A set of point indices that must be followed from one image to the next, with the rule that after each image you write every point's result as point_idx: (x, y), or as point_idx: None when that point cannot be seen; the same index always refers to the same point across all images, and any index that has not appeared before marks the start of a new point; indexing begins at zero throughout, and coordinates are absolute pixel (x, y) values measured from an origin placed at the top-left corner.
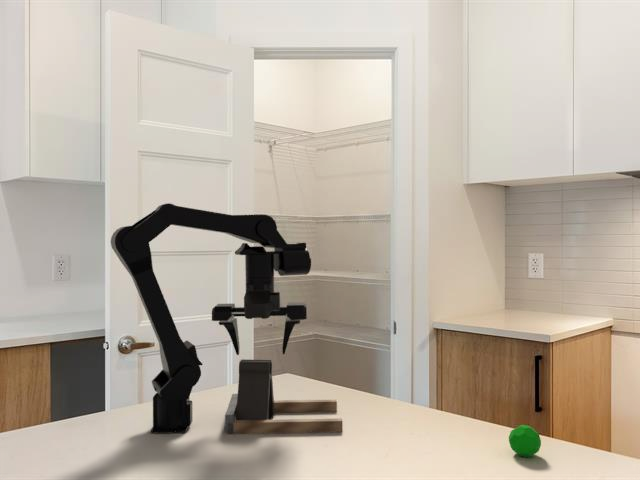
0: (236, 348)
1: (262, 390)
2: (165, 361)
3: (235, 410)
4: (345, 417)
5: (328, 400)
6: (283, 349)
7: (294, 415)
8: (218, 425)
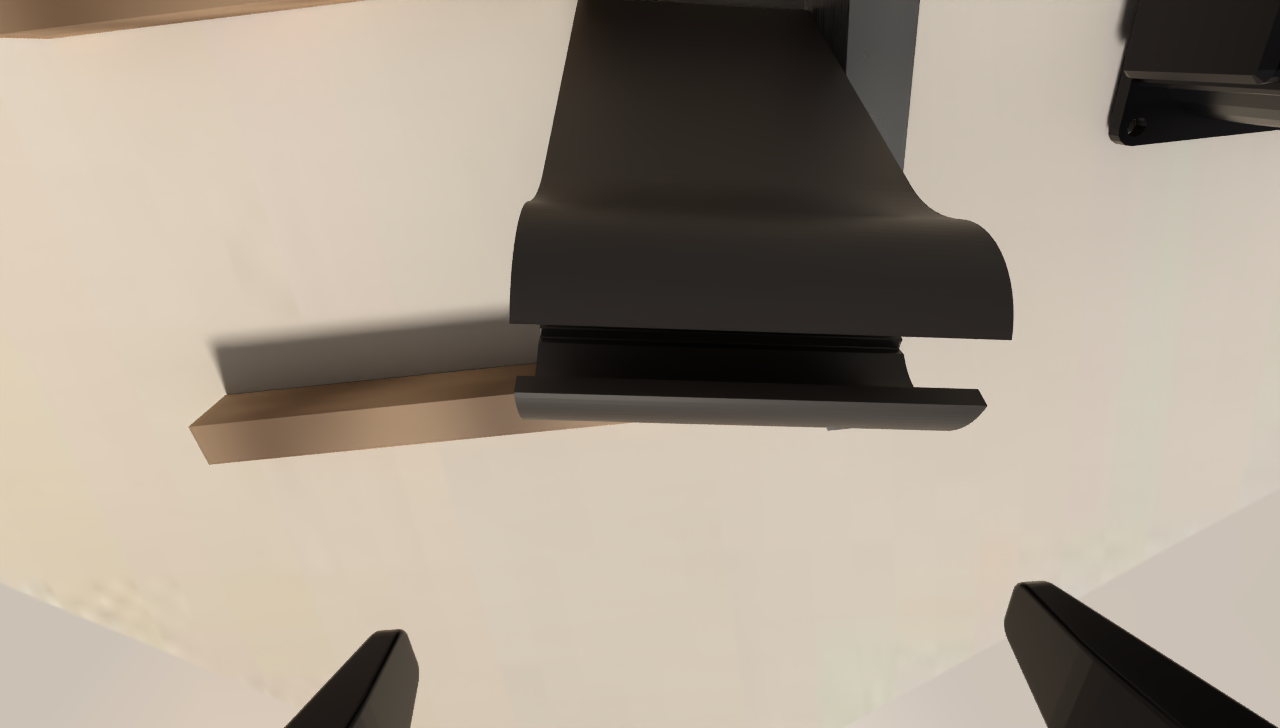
0: (1122, 647)
1: (620, 118)
2: None
3: (840, 61)
4: (130, 290)
5: (250, 444)
6: (359, 682)
7: (457, 311)
8: (922, 82)
